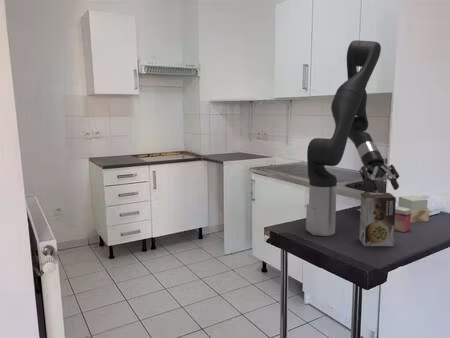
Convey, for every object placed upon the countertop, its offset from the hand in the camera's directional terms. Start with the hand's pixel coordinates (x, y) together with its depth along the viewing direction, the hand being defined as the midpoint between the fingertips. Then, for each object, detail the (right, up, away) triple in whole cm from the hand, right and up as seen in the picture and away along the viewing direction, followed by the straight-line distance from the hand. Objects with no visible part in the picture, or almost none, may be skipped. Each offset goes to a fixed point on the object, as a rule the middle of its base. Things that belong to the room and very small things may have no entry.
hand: (386, 189), depth 133 cm
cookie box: (-12, -17, -18) cm, 27 cm away
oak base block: (+13, -12, +6) cm, 19 cm away
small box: (+2, -14, -6) cm, 16 cm away
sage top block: (+12, -8, +6) cm, 16 cm away
